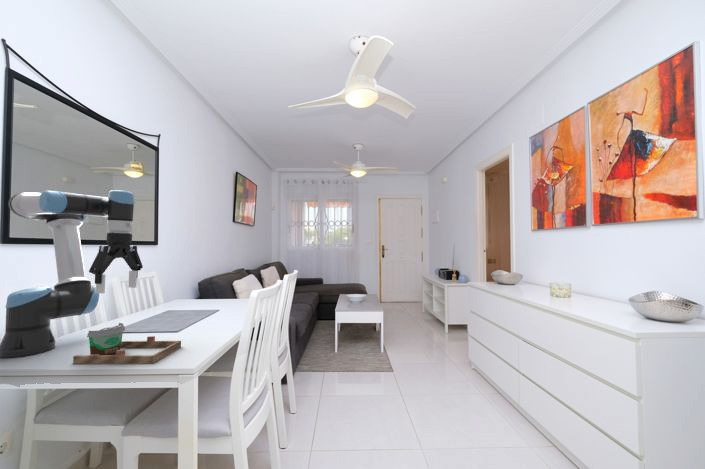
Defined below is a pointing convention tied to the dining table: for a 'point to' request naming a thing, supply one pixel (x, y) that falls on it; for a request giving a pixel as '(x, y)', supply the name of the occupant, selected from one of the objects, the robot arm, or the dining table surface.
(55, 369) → the dining table surface
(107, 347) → the food container
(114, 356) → the slot rails
